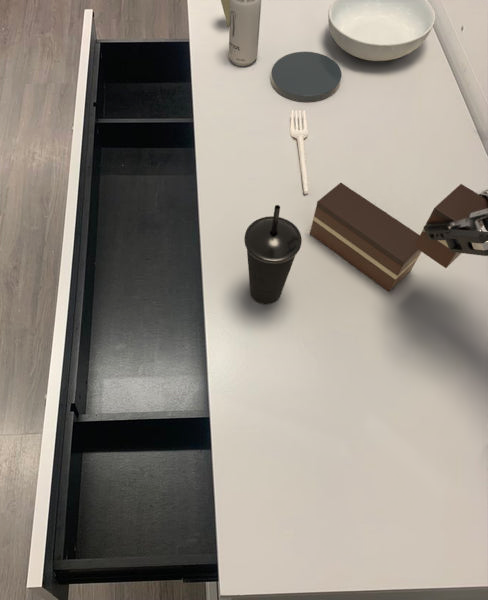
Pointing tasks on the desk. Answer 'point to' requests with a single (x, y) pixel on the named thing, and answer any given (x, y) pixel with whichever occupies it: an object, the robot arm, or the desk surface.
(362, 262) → the loaf cake
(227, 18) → the ice cream cone
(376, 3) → the serving bowl
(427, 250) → the cake slice
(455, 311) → the desk surface
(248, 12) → the energy drink can
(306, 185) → the fork
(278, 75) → the plate
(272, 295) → the drinking cup
